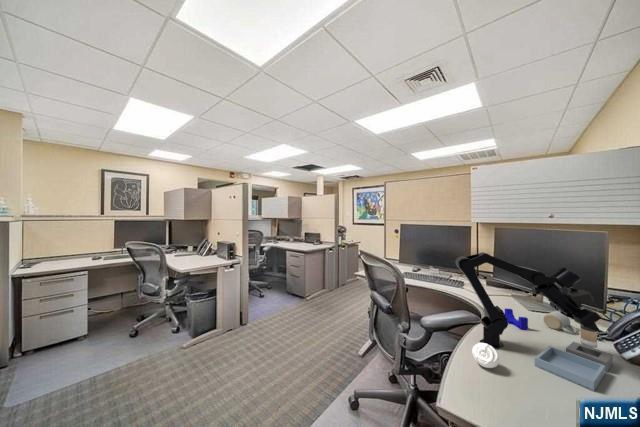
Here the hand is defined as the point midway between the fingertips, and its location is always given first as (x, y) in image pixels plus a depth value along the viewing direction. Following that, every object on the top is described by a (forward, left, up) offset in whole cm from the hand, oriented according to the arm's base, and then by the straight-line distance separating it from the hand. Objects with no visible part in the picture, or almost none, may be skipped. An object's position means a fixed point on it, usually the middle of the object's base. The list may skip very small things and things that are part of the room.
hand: (593, 328), depth 86 cm
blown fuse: (-1, +1, -7) cm, 7 cm away
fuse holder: (-1, +1, -13) cm, 13 cm away
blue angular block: (+11, +28, -13) cm, 33 cm away
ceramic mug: (+25, +15, -13) cm, 32 cm away
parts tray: (-16, +3, -13) cm, 21 cm away
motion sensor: (-40, +19, -13) cm, 46 cm away
